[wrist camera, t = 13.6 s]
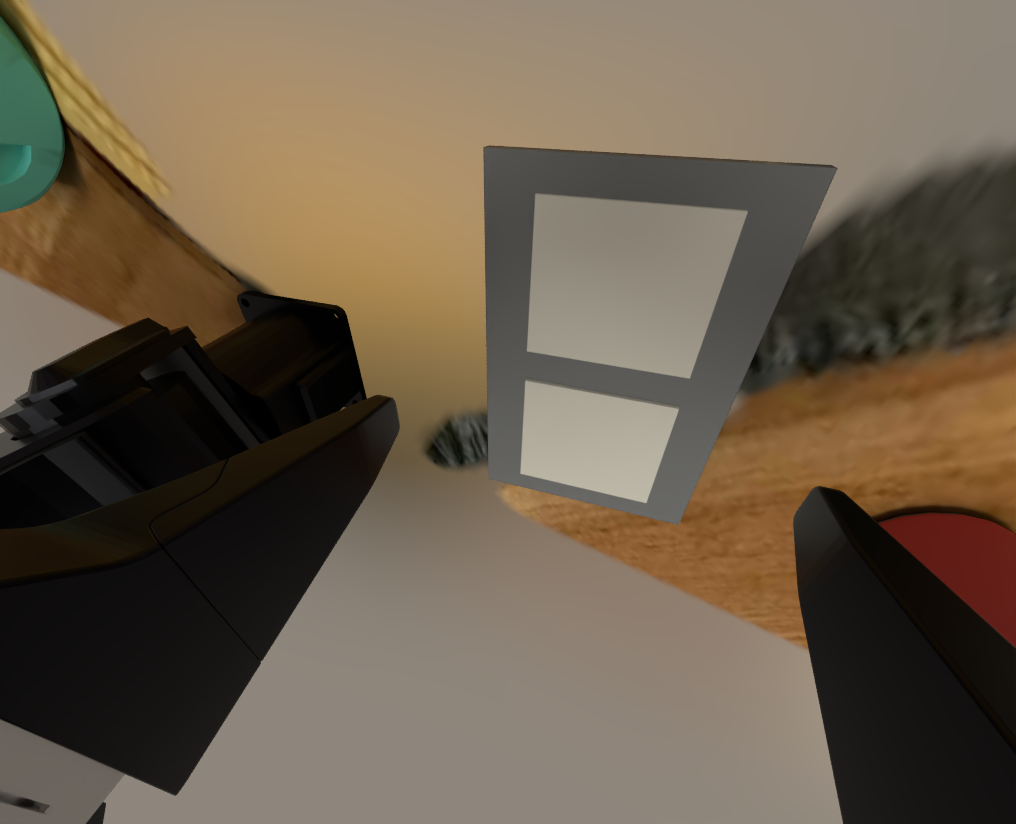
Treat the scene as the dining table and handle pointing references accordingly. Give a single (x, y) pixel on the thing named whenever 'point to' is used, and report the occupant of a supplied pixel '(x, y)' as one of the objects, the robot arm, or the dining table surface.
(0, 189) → the decorative dice
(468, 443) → the dining table surface
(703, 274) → the label board
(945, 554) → the beer can
